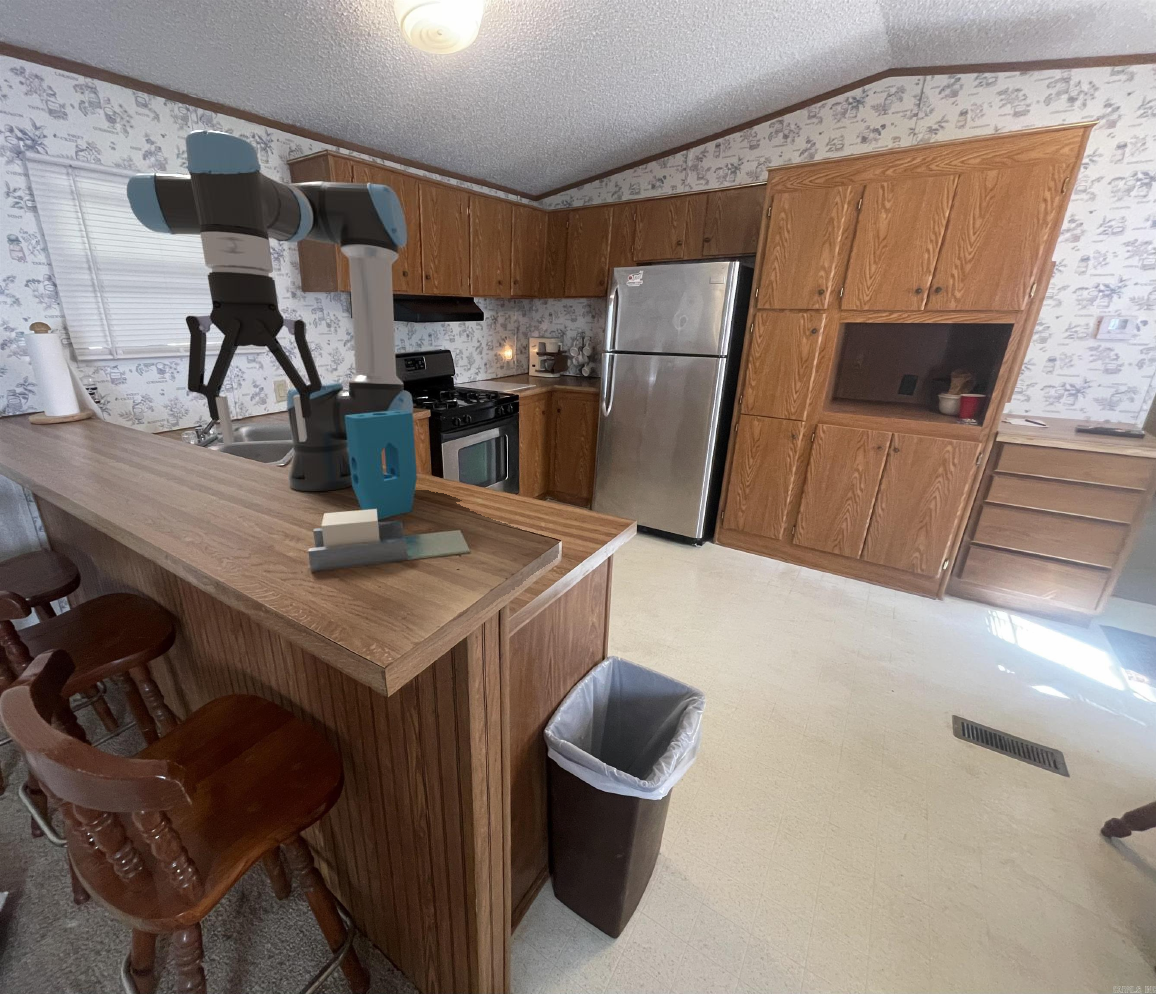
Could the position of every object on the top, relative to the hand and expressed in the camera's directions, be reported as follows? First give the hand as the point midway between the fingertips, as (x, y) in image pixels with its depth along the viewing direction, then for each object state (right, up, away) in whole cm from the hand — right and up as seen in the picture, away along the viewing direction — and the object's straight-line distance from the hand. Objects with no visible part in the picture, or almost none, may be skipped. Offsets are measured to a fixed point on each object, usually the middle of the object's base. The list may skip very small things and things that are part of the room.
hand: (267, 441), depth 74 cm
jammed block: (+9, -18, +10) cm, 22 cm away
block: (+7, -12, +29) cm, 32 cm away
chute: (+14, -17, +12) cm, 25 cm away
